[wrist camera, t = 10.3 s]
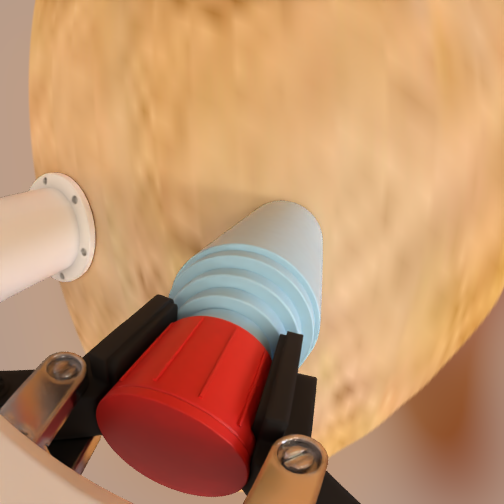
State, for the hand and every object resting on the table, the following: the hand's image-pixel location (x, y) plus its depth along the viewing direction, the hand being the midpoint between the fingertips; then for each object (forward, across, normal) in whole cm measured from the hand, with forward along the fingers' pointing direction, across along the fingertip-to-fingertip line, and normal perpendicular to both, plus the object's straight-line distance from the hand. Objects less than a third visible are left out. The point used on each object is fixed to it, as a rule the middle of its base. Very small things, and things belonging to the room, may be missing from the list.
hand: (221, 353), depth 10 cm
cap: (-1, 0, 0) cm, 1 cm away
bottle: (+16, 0, 0) cm, 16 cm away
